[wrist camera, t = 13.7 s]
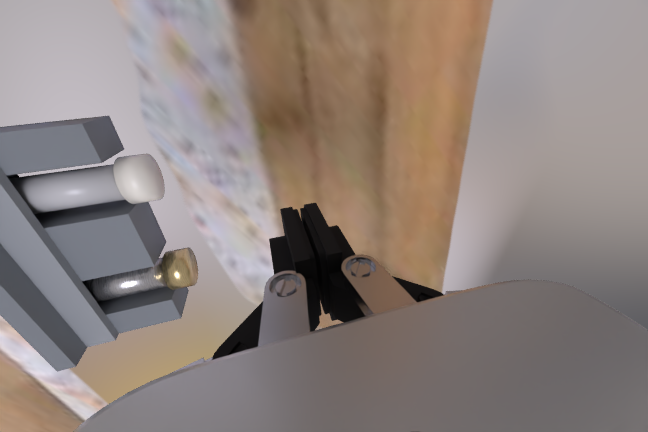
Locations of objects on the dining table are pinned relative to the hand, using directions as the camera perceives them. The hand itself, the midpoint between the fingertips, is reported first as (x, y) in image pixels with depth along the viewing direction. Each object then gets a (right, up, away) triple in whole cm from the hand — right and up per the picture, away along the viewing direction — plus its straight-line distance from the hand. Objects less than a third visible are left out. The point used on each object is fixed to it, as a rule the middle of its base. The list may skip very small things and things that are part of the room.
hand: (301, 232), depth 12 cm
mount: (-21, 0, +13) cm, 25 cm away
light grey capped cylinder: (-19, +4, +11) cm, 22 cm away
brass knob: (-18, -5, +16) cm, 25 cm away
